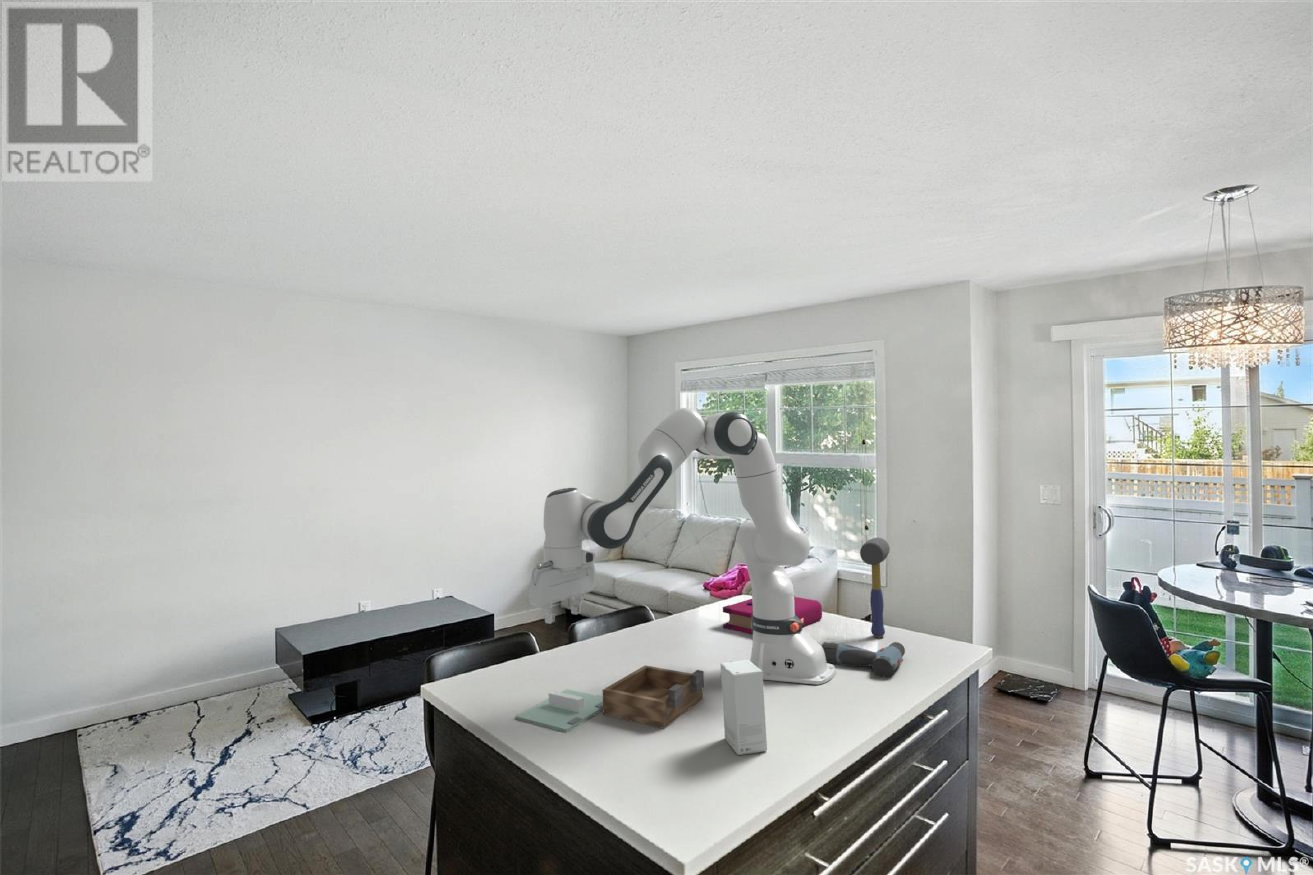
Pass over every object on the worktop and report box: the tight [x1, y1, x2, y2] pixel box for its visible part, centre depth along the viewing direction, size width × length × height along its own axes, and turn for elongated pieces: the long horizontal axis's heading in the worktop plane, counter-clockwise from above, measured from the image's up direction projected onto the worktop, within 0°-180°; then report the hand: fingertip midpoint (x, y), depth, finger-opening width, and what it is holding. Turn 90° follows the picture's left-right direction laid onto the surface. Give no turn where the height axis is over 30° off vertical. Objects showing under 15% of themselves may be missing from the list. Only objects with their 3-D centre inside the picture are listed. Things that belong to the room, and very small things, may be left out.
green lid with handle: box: [515, 688, 603, 733], centre depth 147 cm, size 15×18×4 cm
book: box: [722, 596, 823, 635], centre depth 213 cm, size 21×28×8 cm
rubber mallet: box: [859, 537, 890, 639], centre depth 195 cm, size 12×8×30 cm, turn 151°
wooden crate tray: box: [602, 664, 705, 729], centre depth 147 cm, size 18×18×8 cm
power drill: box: [821, 641, 906, 678], centre depth 173 cm, size 5×19×20 cm
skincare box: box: [720, 659, 768, 756], centre depth 127 cm, size 8×7×16 cm
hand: (563, 618), depth 148 cm, fingers open, 8 cm apart
